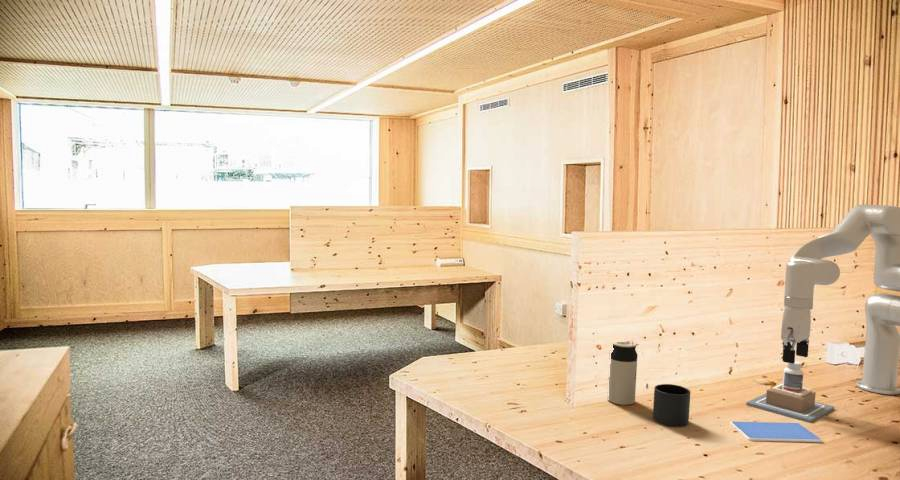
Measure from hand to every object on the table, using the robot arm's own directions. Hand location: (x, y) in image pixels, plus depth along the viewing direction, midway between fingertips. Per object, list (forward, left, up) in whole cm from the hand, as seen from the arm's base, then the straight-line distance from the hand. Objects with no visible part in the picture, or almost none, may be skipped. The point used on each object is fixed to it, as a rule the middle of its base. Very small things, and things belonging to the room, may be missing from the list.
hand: (795, 359), depth 195 cm
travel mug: (+38, -34, -15) cm, 53 cm away
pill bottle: (0, 0, -10) cm, 10 cm away
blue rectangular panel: (+26, +6, -15) cm, 30 cm away
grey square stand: (+1, 0, -15) cm, 15 cm away
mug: (+40, -17, -15) cm, 46 cm away
